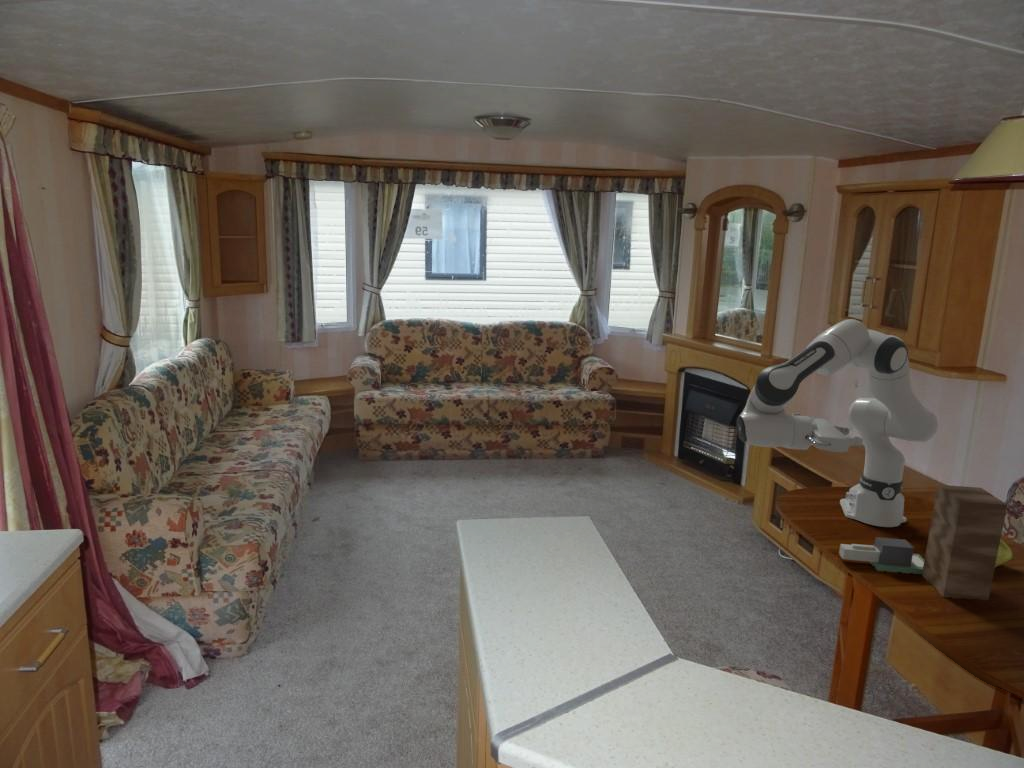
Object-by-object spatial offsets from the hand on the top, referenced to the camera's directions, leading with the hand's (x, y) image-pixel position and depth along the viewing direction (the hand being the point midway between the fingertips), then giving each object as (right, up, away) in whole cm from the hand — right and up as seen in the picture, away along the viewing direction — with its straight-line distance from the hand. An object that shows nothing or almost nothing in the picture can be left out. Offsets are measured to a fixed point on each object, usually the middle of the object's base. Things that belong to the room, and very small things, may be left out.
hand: (854, 436), depth 192 cm
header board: (+18, -37, +13) cm, 43 cm away
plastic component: (+40, -38, +14) cm, 57 cm away
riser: (+26, -40, +1) cm, 48 cm away
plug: (+11, -35, +12) cm, 39 cm away
